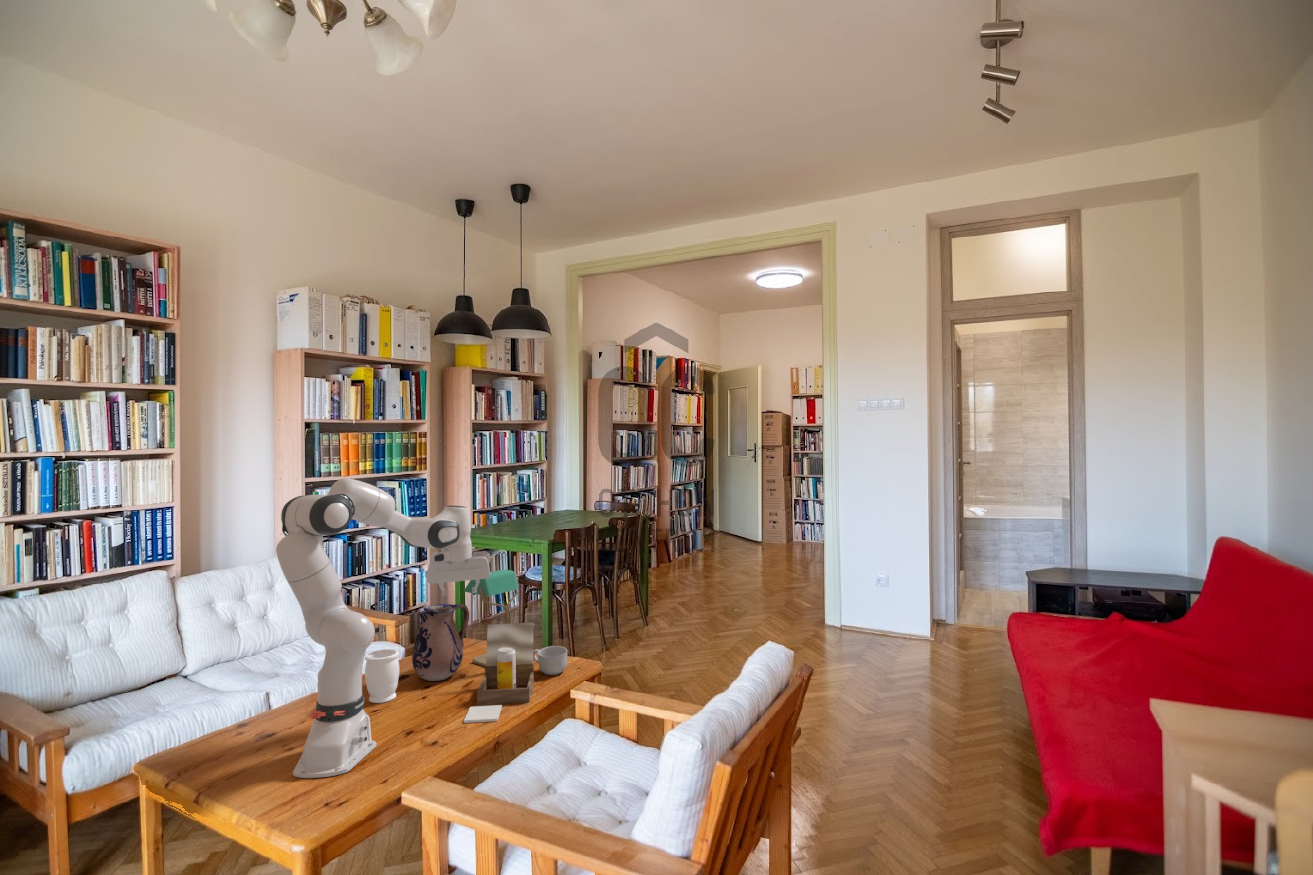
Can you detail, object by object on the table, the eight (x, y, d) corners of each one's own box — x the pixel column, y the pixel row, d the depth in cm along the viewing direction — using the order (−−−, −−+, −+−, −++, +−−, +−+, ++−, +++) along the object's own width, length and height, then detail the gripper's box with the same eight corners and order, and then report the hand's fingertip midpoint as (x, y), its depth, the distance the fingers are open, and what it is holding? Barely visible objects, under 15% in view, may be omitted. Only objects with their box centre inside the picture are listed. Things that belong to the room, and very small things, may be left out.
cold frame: (529, 702, 205) (528, 639, 205) (477, 705, 204) (476, 642, 204) (535, 678, 226) (534, 621, 226) (487, 681, 224) (487, 624, 224)
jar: (405, 692, 215) (404, 648, 215) (389, 705, 205) (389, 659, 205) (376, 692, 216) (375, 648, 216) (358, 704, 206) (358, 658, 206)
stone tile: (497, 721, 192) (497, 718, 192) (463, 723, 191) (463, 720, 191) (502, 707, 201) (502, 704, 201) (470, 709, 200) (470, 706, 200)
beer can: (500, 690, 216) (499, 646, 216) (518, 690, 215) (517, 646, 215) (495, 697, 209) (494, 652, 210) (513, 697, 209) (512, 652, 209)
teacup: (573, 670, 233) (573, 648, 234) (553, 679, 224) (553, 657, 224) (545, 663, 241) (545, 642, 241) (525, 672, 232) (525, 651, 232)
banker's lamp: (497, 676, 229) (495, 579, 229) (462, 664, 241) (460, 573, 242) (530, 663, 241) (528, 572, 242) (495, 653, 254) (494, 566, 254)
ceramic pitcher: (402, 679, 227) (401, 610, 227) (451, 662, 244) (450, 597, 245) (432, 689, 217) (431, 617, 217) (481, 671, 234) (480, 603, 235)
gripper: (490, 548, 217) (491, 588, 217) (427, 554, 212) (429, 594, 212) (490, 552, 211) (492, 593, 211) (425, 557, 205) (427, 599, 206)
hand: (460, 594), depth 211 cm, fingers open, 8 cm apart
